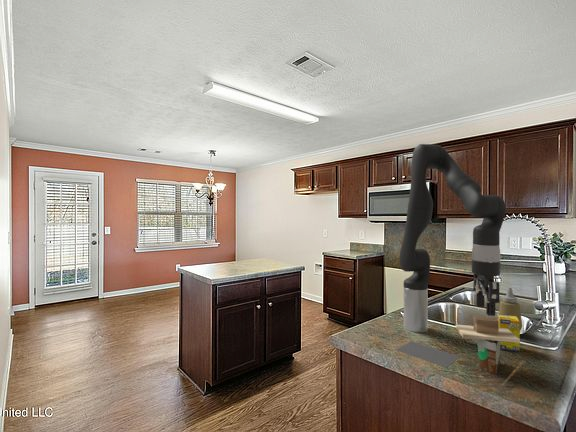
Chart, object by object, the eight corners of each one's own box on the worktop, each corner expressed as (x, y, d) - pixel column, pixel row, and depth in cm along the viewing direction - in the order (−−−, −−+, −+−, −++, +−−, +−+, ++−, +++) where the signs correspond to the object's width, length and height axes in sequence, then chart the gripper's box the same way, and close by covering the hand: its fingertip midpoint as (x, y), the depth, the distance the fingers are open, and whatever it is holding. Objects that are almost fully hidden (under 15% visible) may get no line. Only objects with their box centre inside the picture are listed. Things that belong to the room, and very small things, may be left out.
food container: (478, 357, 104) (478, 327, 104) (500, 362, 101) (500, 331, 100) (471, 371, 95) (471, 338, 95) (495, 378, 91) (495, 344, 91)
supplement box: (499, 349, 110) (499, 318, 110) (496, 343, 116) (496, 313, 116) (520, 352, 108) (520, 321, 108) (516, 346, 113) (516, 316, 113)
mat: (411, 342, 117) (411, 341, 117) (460, 358, 104) (460, 356, 104) (395, 350, 110) (395, 349, 110) (446, 369, 97) (446, 367, 97)
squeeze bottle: (495, 332, 126) (495, 288, 125) (500, 327, 131) (500, 284, 131) (520, 338, 120) (520, 291, 120) (523, 332, 126) (524, 287, 126)
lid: (455, 327, 104) (455, 312, 104) (507, 331, 101) (507, 316, 100) (463, 337, 96) (463, 321, 96) (520, 342, 92) (520, 325, 92)
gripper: (465, 255, 106) (464, 303, 106) (480, 262, 92) (480, 317, 92) (490, 256, 104) (489, 305, 104) (509, 263, 90) (509, 319, 90)
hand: (485, 310), depth 98 cm, fingers open, 8 cm apart
